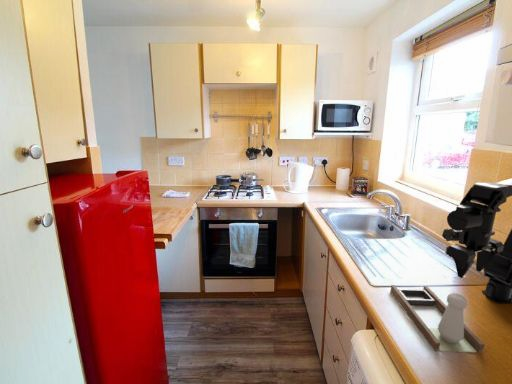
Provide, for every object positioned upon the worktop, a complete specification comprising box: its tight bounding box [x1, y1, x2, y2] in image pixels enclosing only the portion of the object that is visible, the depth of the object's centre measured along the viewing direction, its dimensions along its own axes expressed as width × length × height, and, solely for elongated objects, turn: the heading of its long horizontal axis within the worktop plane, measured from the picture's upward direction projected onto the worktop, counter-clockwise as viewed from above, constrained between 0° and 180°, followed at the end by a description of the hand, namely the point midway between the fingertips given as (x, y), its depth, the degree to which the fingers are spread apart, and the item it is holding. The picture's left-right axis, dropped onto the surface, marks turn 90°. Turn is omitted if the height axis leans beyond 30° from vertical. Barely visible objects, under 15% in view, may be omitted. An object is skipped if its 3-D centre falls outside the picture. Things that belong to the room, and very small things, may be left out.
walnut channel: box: [390, 284, 485, 354], centre depth 84 cm, size 12×26×2 cm, turn 178°
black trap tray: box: [397, 288, 435, 307], centre depth 92 cm, size 9×6×2 cm, turn 88°
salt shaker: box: [437, 292, 468, 344], centre depth 74 cm, size 6×6×13 cm
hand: (469, 273), depth 86 cm, fingers open, 9 cm apart
